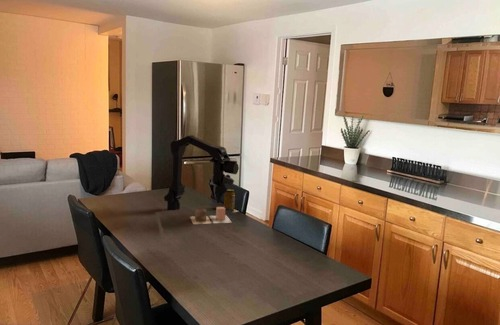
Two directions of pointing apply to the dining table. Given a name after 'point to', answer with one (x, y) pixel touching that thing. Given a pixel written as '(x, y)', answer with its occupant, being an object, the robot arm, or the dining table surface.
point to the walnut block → (200, 215)
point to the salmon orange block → (220, 213)
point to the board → (211, 219)
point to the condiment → (229, 200)
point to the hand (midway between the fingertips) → (216, 200)
